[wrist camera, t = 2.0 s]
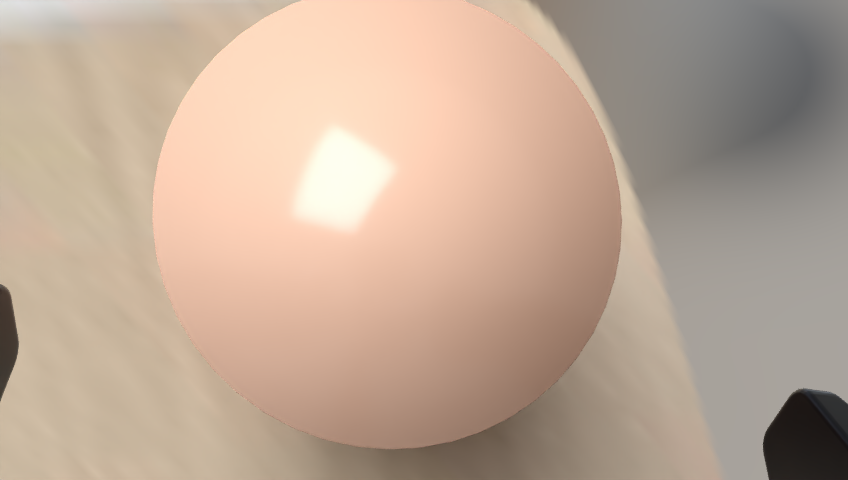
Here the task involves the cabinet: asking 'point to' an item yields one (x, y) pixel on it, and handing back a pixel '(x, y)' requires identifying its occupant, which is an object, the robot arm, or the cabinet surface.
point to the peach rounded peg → (387, 219)
